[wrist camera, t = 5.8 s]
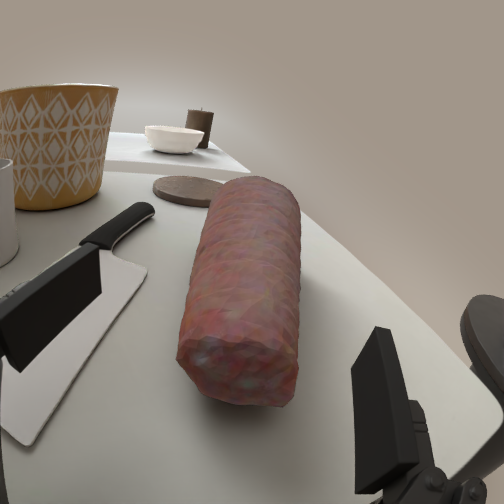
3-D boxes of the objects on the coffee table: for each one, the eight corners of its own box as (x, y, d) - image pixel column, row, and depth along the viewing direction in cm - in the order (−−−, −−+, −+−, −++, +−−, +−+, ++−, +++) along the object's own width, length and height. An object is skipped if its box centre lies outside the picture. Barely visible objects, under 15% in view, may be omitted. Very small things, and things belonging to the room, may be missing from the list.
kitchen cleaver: (23, 442, 8) (-76, 341, 8) (33, 454, 9) (-67, 359, 8) (197, 219, 36) (129, 195, 36) (194, 231, 37) (127, 207, 37)
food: (203, 245, 32) (217, 166, 29) (286, 260, 33) (308, 184, 30) (162, 414, 13) (164, 274, 10) (329, 428, 14) (407, 310, 11)
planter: (25, 177, 42) (30, 92, 34) (115, 179, 48) (126, 90, 41) (-25, 216, 25) (-26, 94, 18) (93, 219, 32) (105, 82, 25)
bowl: (212, 156, 87) (216, 134, 84) (168, 159, 73) (172, 132, 69) (173, 146, 95) (176, 126, 92) (130, 148, 80) (133, 125, 77)
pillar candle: (208, 149, 101) (216, 109, 95) (182, 146, 98) (189, 105, 92) (206, 145, 110) (213, 109, 103) (181, 142, 107) (188, 106, 100)
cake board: (236, 190, 56) (237, 184, 55) (229, 213, 43) (231, 206, 43) (166, 178, 55) (167, 172, 54) (140, 197, 42) (141, 189, 42)
